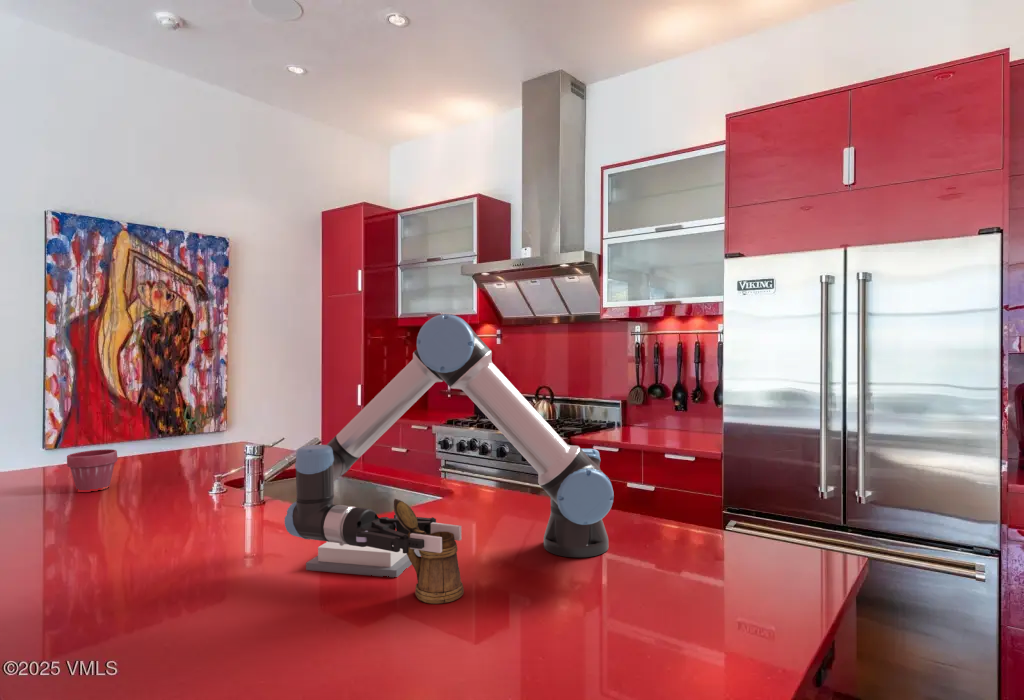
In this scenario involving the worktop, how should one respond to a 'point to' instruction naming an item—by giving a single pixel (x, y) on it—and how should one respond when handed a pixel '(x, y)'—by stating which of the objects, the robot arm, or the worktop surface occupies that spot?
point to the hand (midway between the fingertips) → (450, 538)
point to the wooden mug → (432, 562)
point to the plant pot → (92, 468)
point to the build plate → (361, 567)
